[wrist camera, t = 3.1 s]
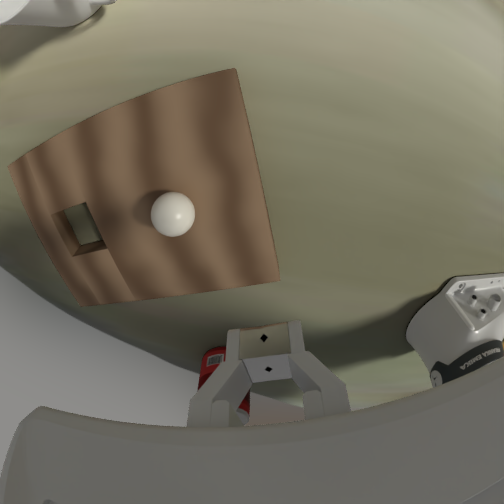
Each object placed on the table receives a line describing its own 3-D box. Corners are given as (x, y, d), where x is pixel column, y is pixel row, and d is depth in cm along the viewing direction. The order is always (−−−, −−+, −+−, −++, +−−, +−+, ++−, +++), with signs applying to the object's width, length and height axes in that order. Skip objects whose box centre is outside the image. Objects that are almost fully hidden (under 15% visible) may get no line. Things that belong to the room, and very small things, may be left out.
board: (236, 69, 21) (234, 67, 19) (278, 267, 34) (280, 280, 31) (19, 159, 25) (7, 166, 23) (87, 295, 37) (80, 306, 35)
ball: (191, 180, 25) (181, 198, 22) (203, 218, 27) (196, 240, 24) (152, 190, 26) (138, 209, 22) (166, 226, 28) (154, 248, 24)
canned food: (196, 363, 45) (187, 421, 36) (213, 339, 41) (205, 404, 32) (237, 376, 47) (234, 431, 38) (258, 353, 43) (259, 416, 34)
